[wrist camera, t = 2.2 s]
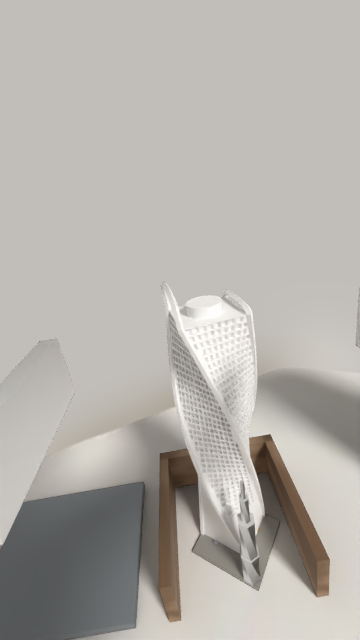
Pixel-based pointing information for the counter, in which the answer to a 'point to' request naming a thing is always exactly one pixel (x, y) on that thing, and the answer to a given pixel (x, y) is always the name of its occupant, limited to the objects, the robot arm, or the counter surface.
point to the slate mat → (72, 565)
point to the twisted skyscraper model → (220, 428)
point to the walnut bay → (267, 459)
